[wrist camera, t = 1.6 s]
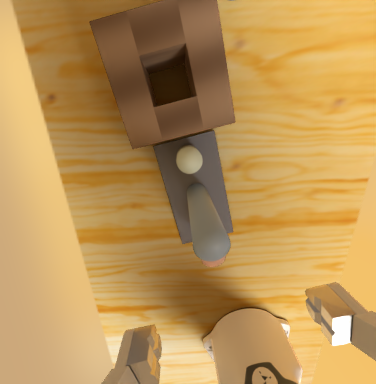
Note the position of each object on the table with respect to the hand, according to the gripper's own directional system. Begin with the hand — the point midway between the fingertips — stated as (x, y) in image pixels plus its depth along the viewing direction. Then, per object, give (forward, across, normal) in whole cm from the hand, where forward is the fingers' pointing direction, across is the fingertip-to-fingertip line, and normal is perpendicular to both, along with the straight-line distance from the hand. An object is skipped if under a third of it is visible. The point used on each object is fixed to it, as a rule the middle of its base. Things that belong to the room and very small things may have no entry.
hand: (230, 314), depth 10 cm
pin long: (+20, 0, 0) cm, 20 cm away
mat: (+21, 0, 0) cm, 21 cm away
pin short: (+20, 0, -6) cm, 21 cm away
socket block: (+21, 0, -15) cm, 25 cm away
